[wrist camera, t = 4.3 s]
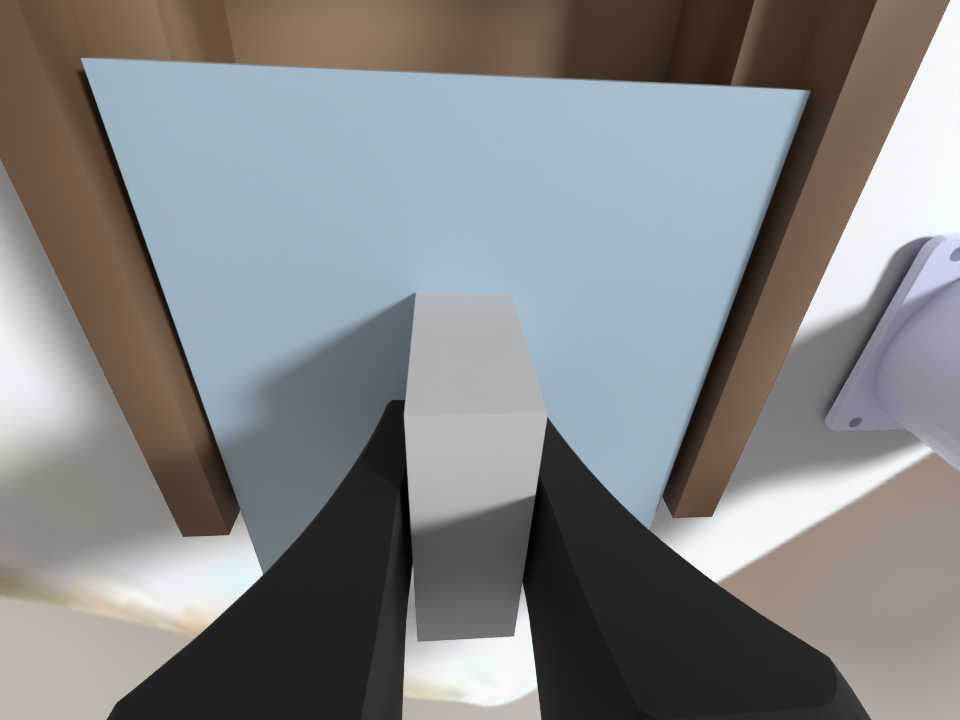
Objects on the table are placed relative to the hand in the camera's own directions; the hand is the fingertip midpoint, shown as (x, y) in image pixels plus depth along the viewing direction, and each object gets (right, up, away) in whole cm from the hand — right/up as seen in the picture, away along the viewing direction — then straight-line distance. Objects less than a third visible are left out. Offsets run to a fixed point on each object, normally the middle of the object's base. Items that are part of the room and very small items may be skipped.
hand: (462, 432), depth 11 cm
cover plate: (0, +1, +1) cm, 2 cm away
